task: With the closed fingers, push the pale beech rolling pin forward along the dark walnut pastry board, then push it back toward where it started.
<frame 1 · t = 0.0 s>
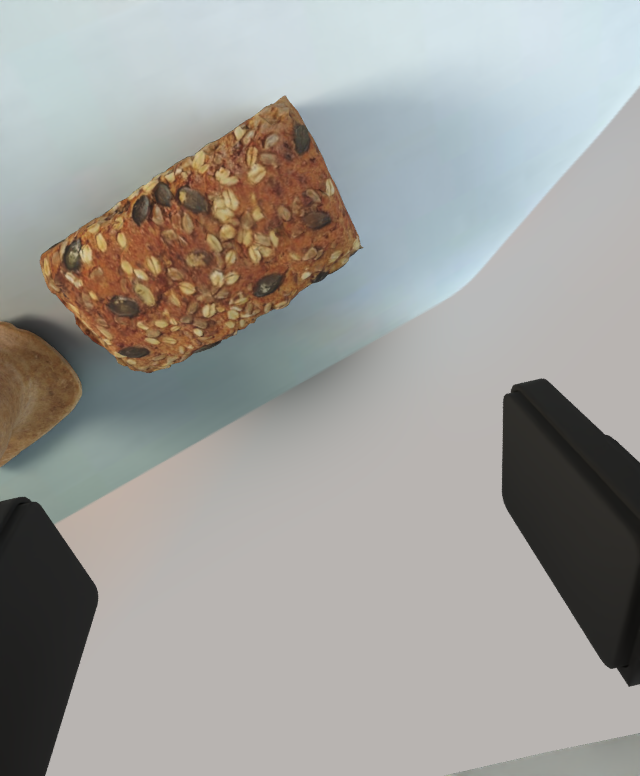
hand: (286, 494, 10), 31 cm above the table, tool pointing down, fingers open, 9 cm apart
bread: (212, 231, 37), on the table
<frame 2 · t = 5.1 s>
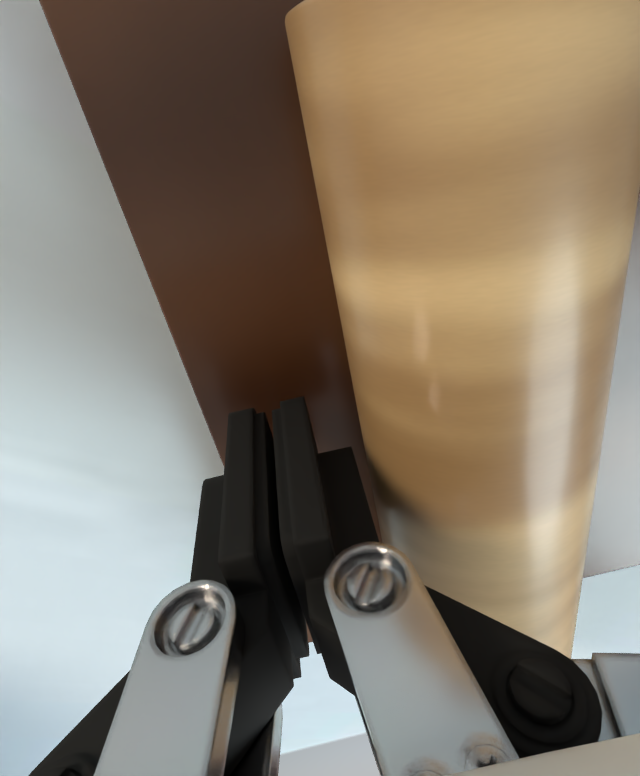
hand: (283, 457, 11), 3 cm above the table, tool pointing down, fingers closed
rolling pin: (474, 445, 10), point 4 cm above the table, slide at 0.6 cm
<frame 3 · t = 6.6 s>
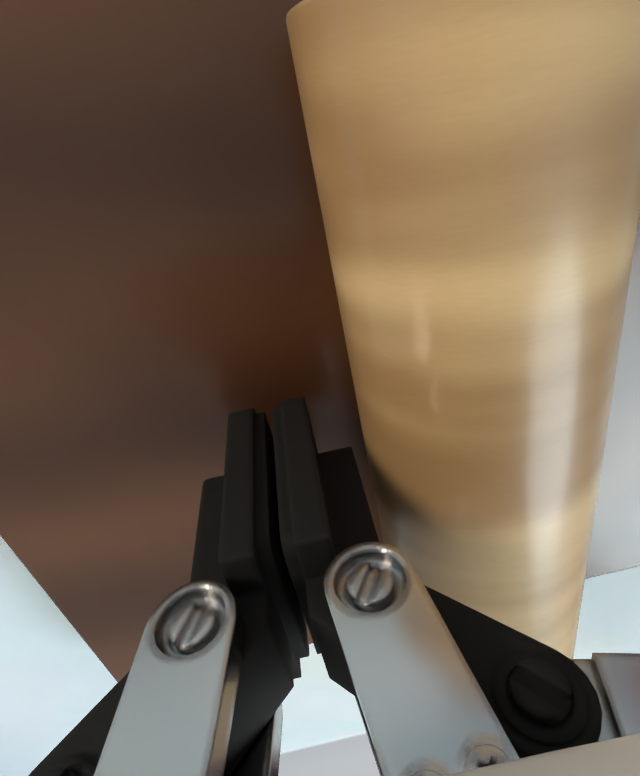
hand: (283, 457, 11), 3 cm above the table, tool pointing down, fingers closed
pastry board: (434, 357, 13), on the table
rolling pin: (476, 446, 10), point 4 cm above the table, slide at 6.6 cm, touching gripper
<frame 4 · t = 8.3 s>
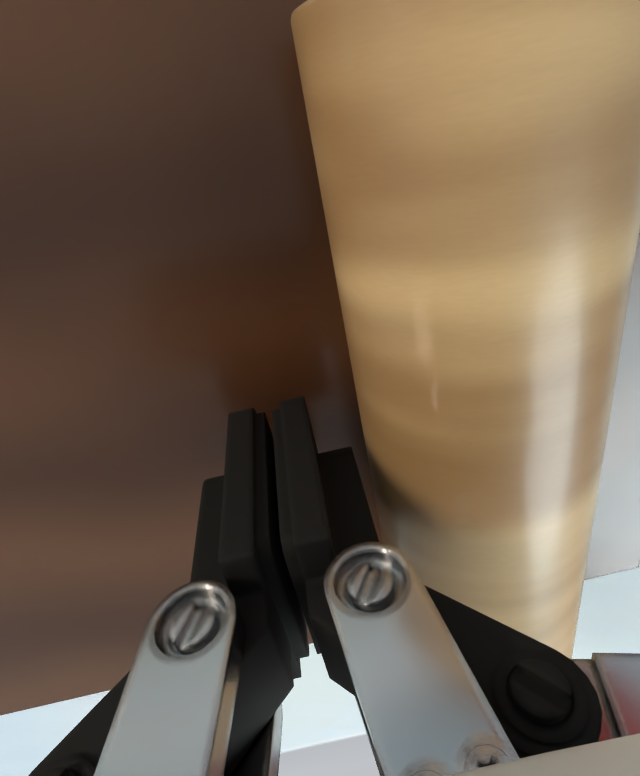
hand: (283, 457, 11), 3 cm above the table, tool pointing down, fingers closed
pastry board: (219, 407, 13), on the table
rolling pin: (476, 447, 10), point 4 cm above the table, slide at 12.5 cm, touching gripper
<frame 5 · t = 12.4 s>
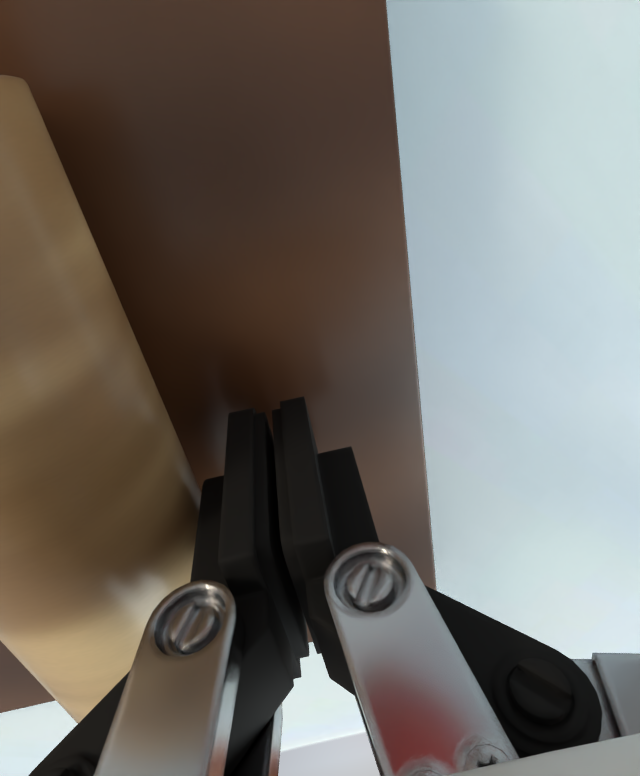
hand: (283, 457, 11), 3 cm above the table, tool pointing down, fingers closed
rolling pin: (94, 533, 10), point 4 cm above the table, slide at 11.6 cm
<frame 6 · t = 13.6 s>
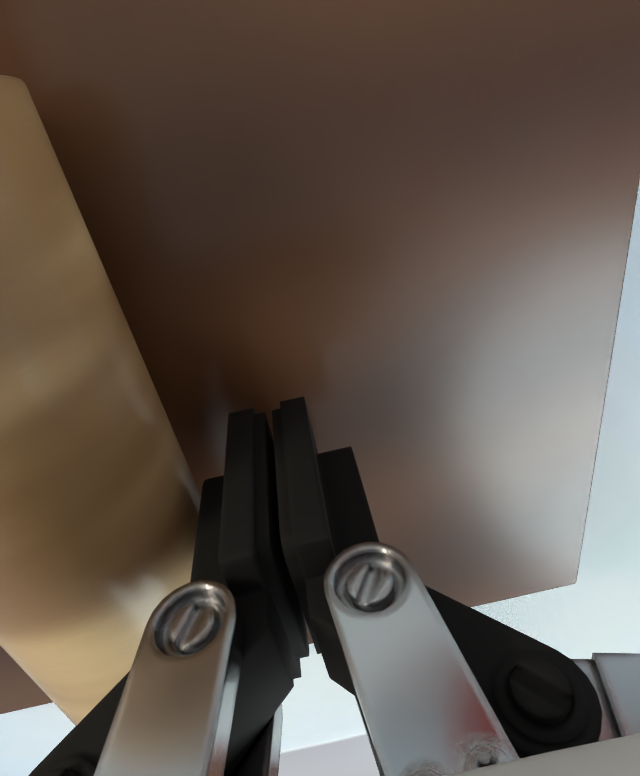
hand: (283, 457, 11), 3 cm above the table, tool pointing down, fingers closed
pastry board: (141, 425, 13), on the table
rolling pin: (93, 534, 10), point 4 cm above the table, slide at 6.7 cm, touching gripper
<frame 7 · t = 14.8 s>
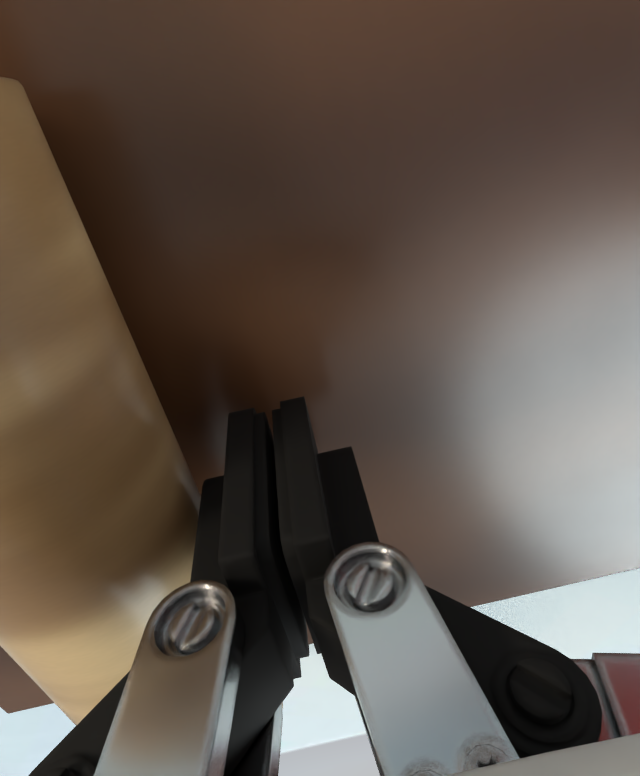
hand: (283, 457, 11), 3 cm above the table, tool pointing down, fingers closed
pastry board: (296, 390, 13), on the table
rolling pin: (93, 535, 10), point 4 cm above the table, slide at 2.5 cm, touching gripper
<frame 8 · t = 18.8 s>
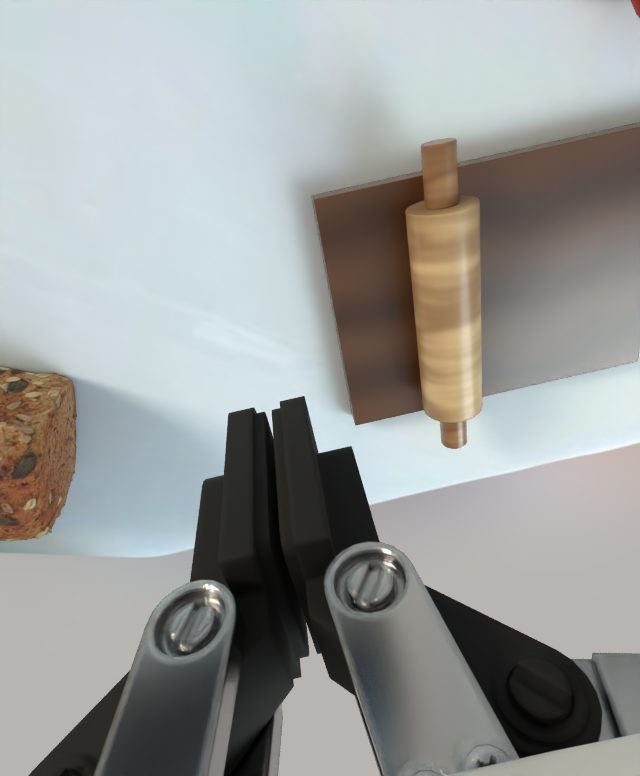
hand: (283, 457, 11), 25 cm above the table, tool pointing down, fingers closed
pastry board: (489, 284, 37), on the table
rolling pin: (447, 317, 33), point 4 cm above the table, slide at 2.4 cm
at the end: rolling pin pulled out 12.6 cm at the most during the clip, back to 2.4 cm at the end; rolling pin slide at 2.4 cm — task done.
